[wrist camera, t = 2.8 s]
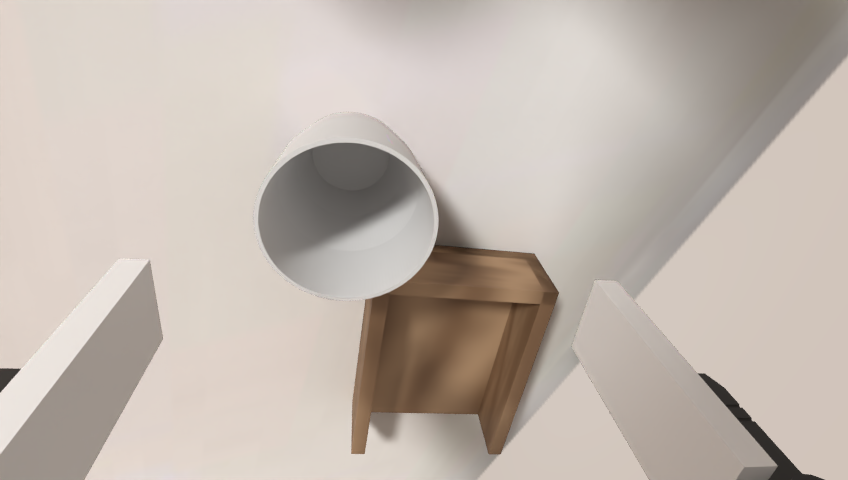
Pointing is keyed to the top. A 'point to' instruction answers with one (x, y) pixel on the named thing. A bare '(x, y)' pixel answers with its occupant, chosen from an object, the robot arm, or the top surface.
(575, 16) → the top surface
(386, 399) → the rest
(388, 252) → the cup
